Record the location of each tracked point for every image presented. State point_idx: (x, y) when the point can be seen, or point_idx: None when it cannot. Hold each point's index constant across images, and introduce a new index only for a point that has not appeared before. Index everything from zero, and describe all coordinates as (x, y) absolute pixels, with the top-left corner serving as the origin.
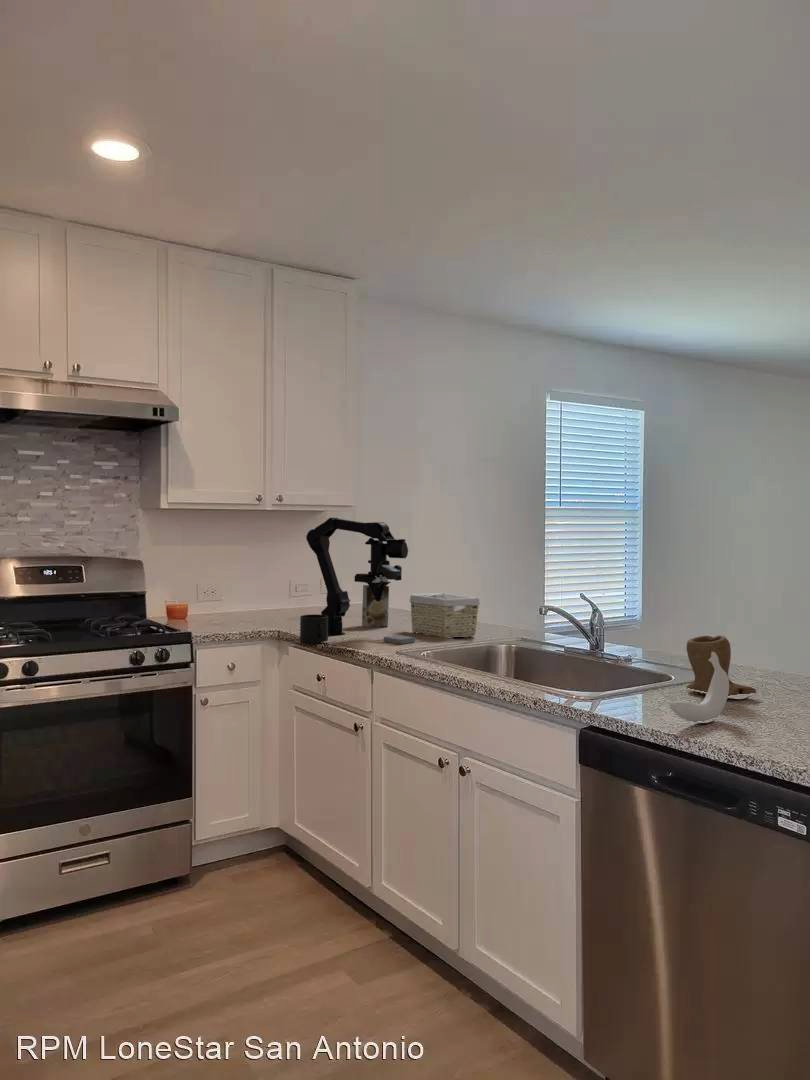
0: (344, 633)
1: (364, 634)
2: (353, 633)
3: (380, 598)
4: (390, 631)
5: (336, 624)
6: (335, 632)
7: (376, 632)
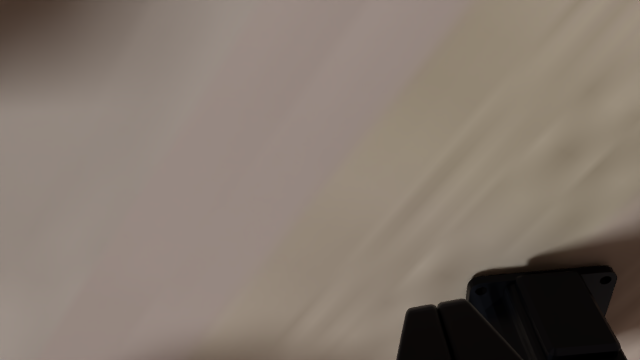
0: (483, 279)
1: (330, 225)
2: (376, 294)
3: (412, 357)
4: (22, 270)
5: (611, 331)
6: (581, 282)
7: (171, 270)
